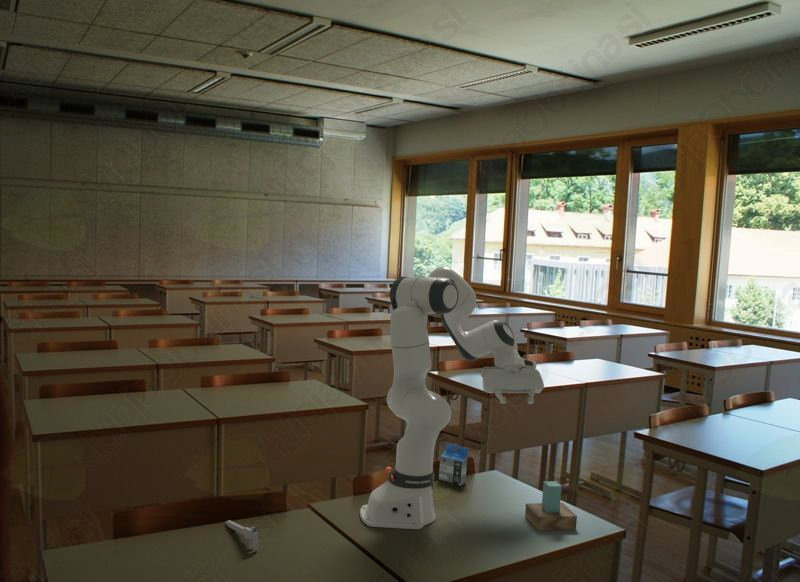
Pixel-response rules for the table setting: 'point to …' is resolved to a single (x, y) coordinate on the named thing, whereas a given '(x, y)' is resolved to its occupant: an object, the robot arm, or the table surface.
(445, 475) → the label tape box
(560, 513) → the walnut block
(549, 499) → the teal column
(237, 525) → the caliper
